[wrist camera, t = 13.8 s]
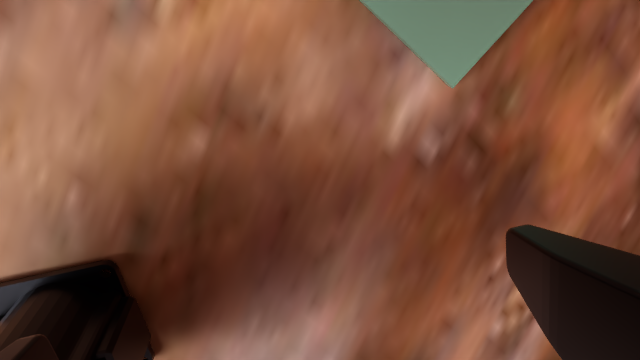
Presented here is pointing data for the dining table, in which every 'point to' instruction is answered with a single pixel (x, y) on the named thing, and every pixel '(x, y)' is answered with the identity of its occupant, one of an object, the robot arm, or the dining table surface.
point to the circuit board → (448, 29)
